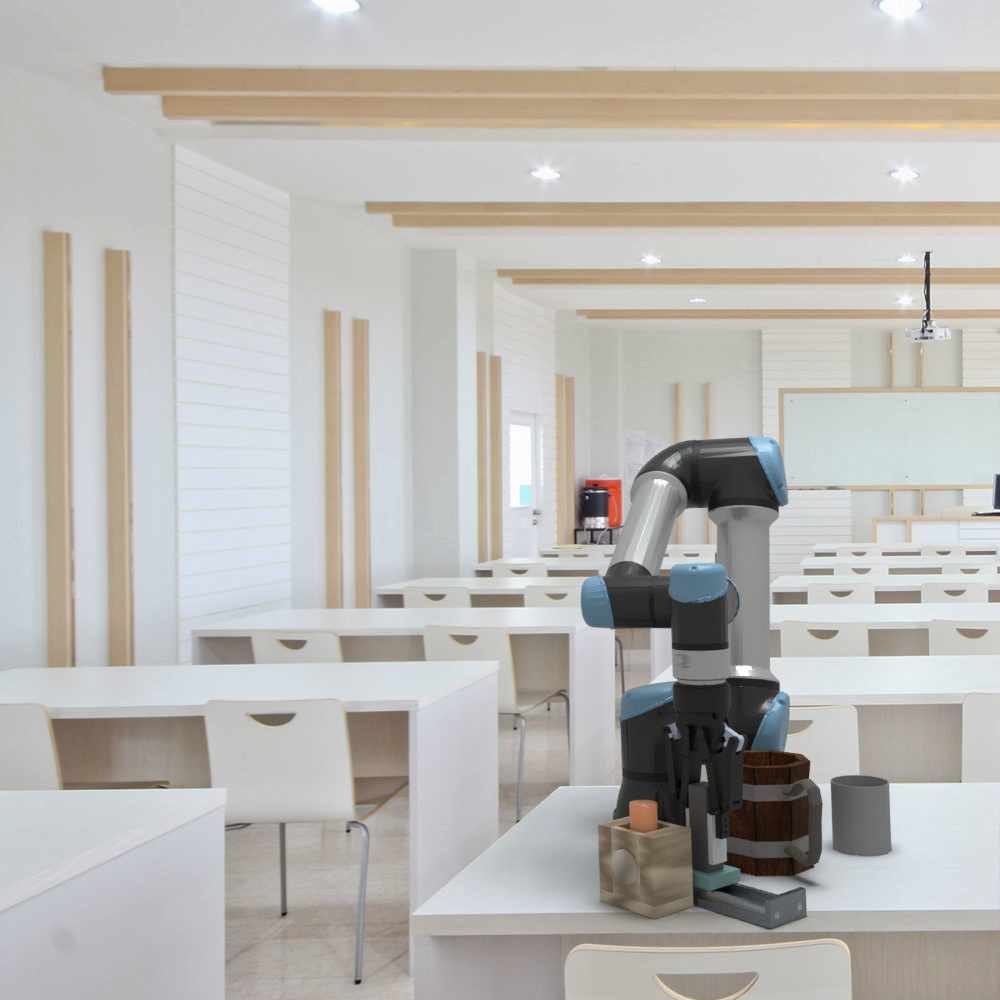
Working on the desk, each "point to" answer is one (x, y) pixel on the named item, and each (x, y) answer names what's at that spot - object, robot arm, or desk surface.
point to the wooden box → (645, 868)
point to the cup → (861, 815)
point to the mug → (776, 816)
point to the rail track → (754, 904)
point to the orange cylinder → (643, 816)
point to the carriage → (705, 843)
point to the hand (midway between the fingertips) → (706, 859)
